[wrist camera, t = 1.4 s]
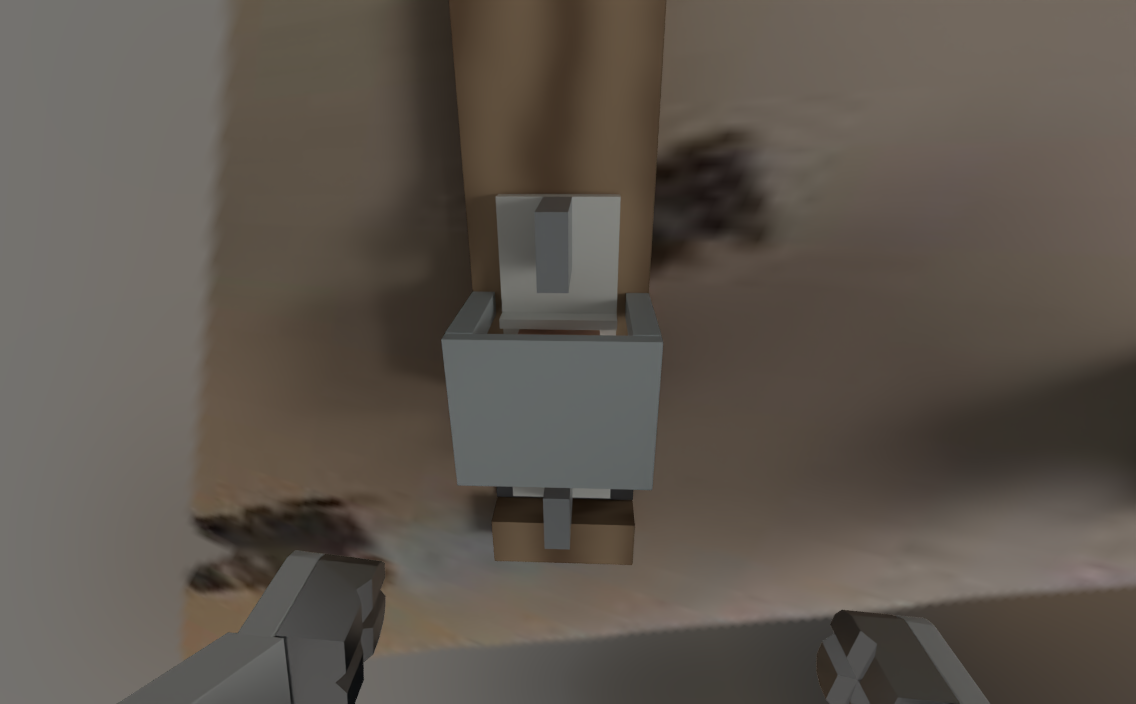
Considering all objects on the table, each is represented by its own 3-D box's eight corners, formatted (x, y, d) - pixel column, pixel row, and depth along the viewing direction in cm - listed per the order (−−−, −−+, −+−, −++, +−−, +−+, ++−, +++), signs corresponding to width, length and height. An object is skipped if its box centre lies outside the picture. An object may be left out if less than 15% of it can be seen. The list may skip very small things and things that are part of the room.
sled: (619, 194, 30) (625, 212, 25) (609, 489, 39) (612, 550, 34) (498, 193, 31) (477, 211, 25) (515, 487, 39) (502, 547, 34)
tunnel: (648, 293, 33) (663, 341, 26) (641, 419, 37) (652, 490, 30) (472, 291, 33) (441, 338, 27) (482, 416, 37) (457, 485, 30)
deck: (660, -14, 29) (667, -27, 26) (630, 537, 45) (632, 564, 42) (460, -11, 29) (446, -23, 27) (500, 533, 45) (494, 560, 43)
